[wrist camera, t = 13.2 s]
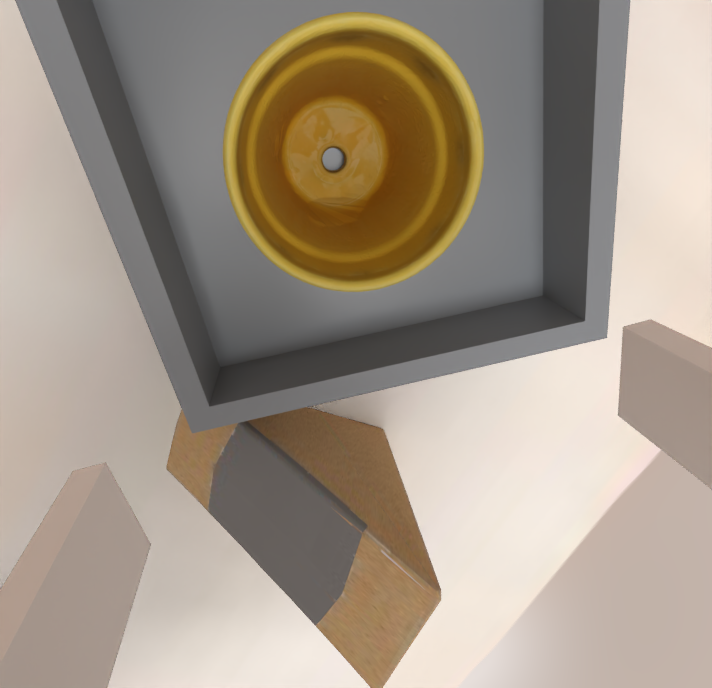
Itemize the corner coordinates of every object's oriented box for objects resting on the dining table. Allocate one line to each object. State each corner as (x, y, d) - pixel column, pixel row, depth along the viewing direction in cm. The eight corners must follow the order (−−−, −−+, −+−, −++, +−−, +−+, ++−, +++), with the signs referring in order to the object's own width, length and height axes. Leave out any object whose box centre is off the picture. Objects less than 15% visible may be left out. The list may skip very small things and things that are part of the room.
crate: (207, 384, 32) (192, 433, 27) (32, -90, 21) (-53, -167, 16) (555, 305, 34) (607, 337, 29) (562, -177, 23) (648, -274, 17)
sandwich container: (189, 374, 32) (122, 546, 19) (386, 425, 36) (446, 596, 23) (162, 469, 35) (86, 678, 22) (347, 506, 39) (380, 700, 26)
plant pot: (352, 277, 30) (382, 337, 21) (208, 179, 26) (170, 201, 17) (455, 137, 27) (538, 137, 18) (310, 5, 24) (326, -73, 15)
